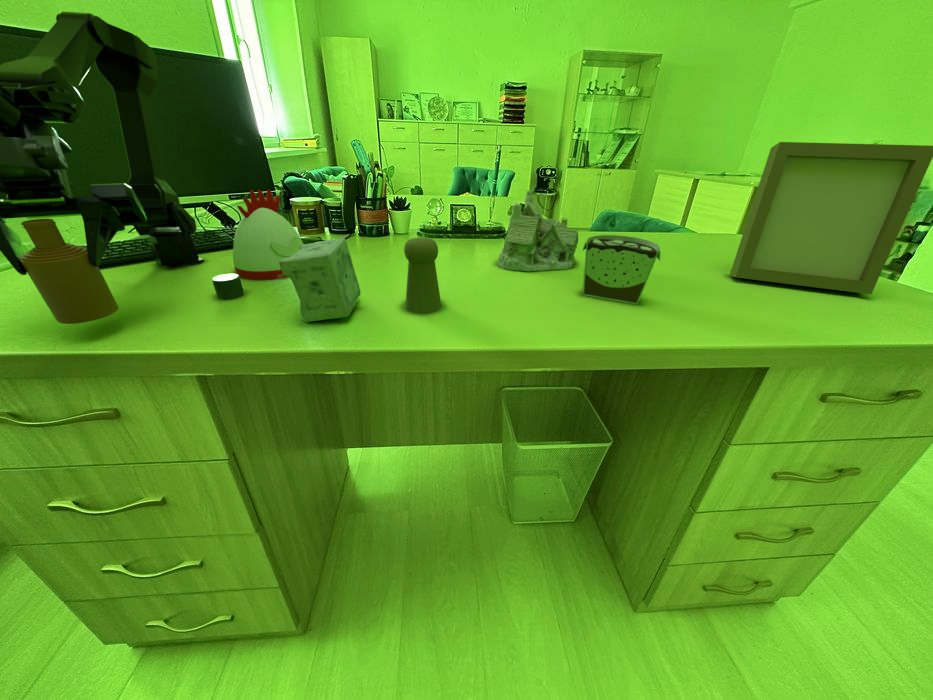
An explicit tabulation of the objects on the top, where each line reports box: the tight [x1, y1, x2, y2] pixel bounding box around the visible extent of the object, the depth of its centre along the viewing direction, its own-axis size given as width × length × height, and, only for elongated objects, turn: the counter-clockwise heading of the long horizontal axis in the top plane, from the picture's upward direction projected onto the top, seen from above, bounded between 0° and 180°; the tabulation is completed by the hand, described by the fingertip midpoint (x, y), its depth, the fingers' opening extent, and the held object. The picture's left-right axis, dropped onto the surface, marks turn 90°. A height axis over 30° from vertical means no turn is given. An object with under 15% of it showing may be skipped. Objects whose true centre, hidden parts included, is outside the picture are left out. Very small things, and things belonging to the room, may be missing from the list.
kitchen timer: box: [232, 189, 304, 281], centre depth 72 cm, size 14×14×15 cm
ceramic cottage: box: [497, 190, 579, 272], centre depth 80 cm, size 16×16×15 cm
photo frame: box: [729, 141, 933, 295], centre depth 72 cm, size 15×22×25 cm
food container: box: [582, 234, 662, 306], centre depth 65 cm, size 12×6×10 cm, turn 65°
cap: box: [211, 273, 245, 300], centre depth 62 cm, size 4×4×3 cm
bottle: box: [20, 218, 120, 325], centre depth 46 cm, size 6×6×12 cm
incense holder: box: [279, 237, 361, 323], centre depth 56 cm, size 10×8×10 cm
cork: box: [403, 237, 443, 315], centre depth 58 cm, size 6×6×11 cm
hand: (59, 269), depth 45 cm, fingers closed on bottle, 6 cm apart
